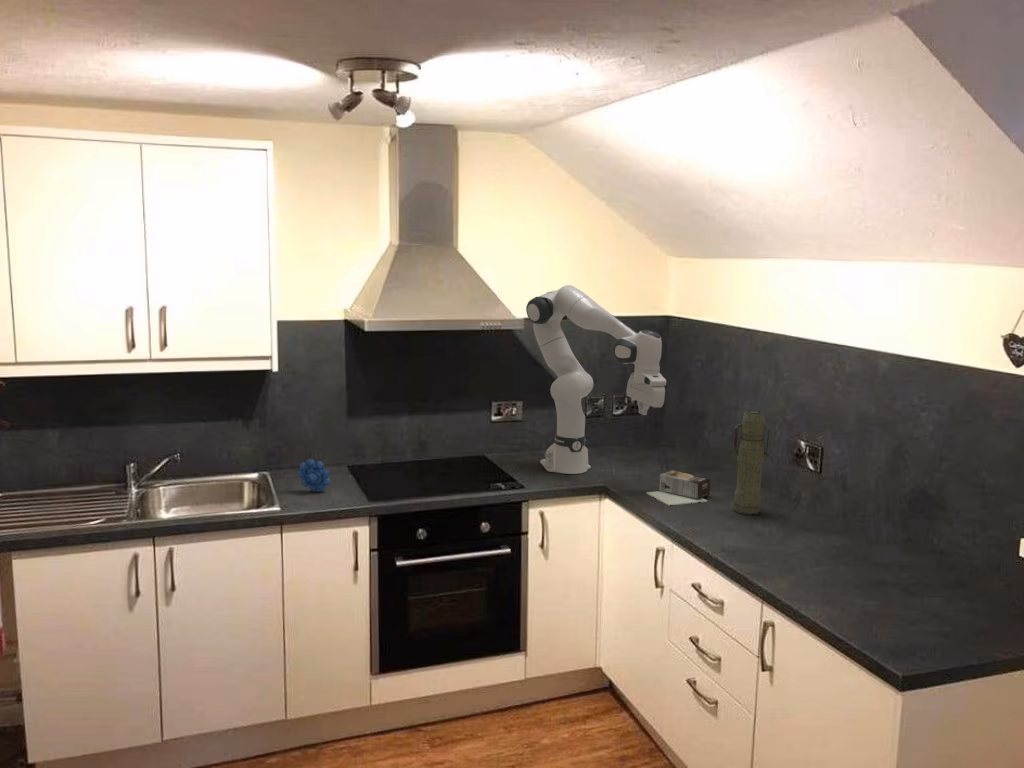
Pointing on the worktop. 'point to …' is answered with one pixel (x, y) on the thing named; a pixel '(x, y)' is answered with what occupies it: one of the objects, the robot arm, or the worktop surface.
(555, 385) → the robot arm
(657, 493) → the mat
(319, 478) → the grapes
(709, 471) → the worktop surface
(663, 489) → the coffee box
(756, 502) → the thermos
